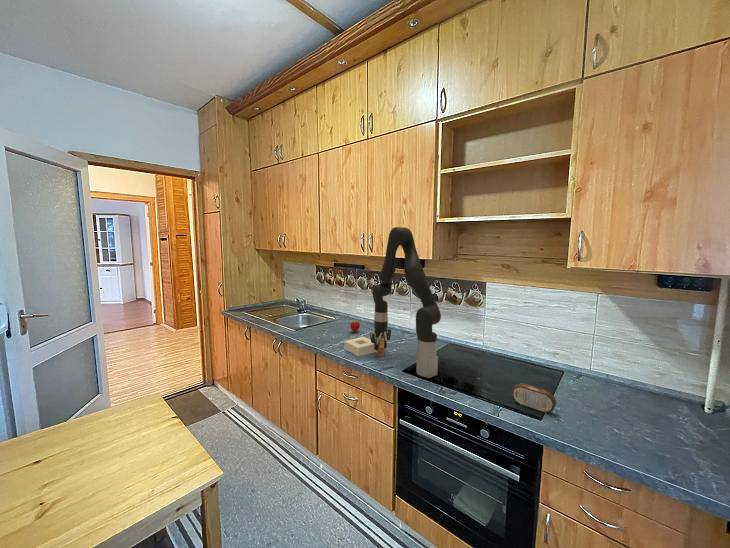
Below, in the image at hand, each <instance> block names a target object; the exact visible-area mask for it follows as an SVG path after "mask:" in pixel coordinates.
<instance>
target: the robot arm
mask: <svg viewBox="0 0 730 548" xmlns="http://www.w3.org/2000/svg"><path fill="white" fill-rule="evenodd" d="M400 246H401V249H402V251H403V254H404V265H403V266H404V267H403V268H404V269H403V272H404V276H405V278H406V282H407V284H408V286H409V288H411V289H412V290H413V292H414V293H415V294H416V295H417V296H418V298H419V300H420V301H421V304H422V307H420V308H418V309H417V311H416V312H415V333H416V336H417V339H416V341H417V342H416V345H417V347H416V375H418V376H420V377H423V378H427V379H430V378H432V377H436V376H438V365H439V356H438V355H437V346H438V343H437V342H438V335H437V333H436V332H434V331H433V325H437V324H438V323H440V321H441V319H442V314H441V311H440V308H439V305H438V304H437V302H436V299H435V297H434V296H433V293H432V291H431V287H430V285H429V282H428V279H427V277H426V273H425V271H424V268H423V266H422V263H421V260H420V257H419V254H418V251H417V248H416V244H415V239H414V235H413V233H412V230H411V229H409V228H408V227H402V226H401V227H400V226H395V227H393V228H392V229H391V230H390V231H389V234H388V237H387V245H386V250H385V258H384V262H383V265H382V268H381V270H380V273H379V279H380V280H381V283H377V284H375V285H373V287H372V291H371V294H372V299H373V302H374V314H373V315H374V316H373V323H374V324H373V326H374V331H373V332H370V333H369V336H370V338H369V339H370V340H371V343H374V349H375V350H376V351H377V350H378V342H379V340H380V338H381V336H382V335H384V349H387V347H388V341H390V340H391V335H392V329H390V328H388V327H389V326H388V322H389V314H388V306H389V305H388V302H387V301H386V300H384V298H383V297H387V296H388V295H390V293H391V292H392V291H391V290H392V287H393V278H394V276H395V275H394V274H395V272H396V270H397V269H396V268H397V260H396V255H397V252H398V249H399V247H400ZM377 337H378V338H377Z"/></svg>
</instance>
